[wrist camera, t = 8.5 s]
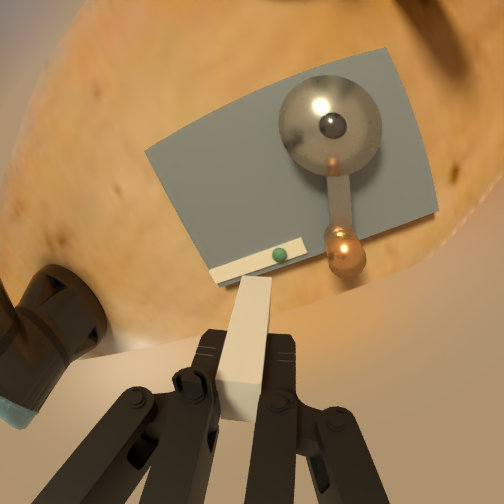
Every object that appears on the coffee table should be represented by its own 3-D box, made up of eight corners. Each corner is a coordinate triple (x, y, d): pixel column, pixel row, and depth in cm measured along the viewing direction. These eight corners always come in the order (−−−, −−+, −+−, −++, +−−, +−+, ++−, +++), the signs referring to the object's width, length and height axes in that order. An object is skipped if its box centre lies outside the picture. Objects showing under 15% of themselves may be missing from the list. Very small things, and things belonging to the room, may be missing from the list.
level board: (222, 280, 32) (218, 290, 30) (151, 148, 26) (141, 152, 24) (432, 205, 24) (441, 212, 23) (381, 50, 19) (387, 46, 17)
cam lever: (272, 84, 20) (266, 76, 16) (366, 77, 19) (384, 68, 14) (298, 253, 27) (298, 282, 23) (379, 245, 25) (394, 272, 21)
